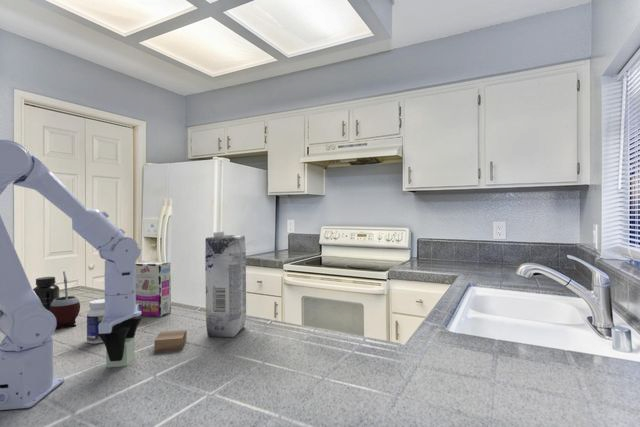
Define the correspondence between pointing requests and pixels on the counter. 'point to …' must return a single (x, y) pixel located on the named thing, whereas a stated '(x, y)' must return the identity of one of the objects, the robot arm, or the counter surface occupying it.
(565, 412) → the counter surface
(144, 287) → the candy bar box
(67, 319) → the mate gourd
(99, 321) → the pill bottle
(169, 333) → the walnut block
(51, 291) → the supplement bottle
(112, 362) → the sage block
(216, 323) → the juice carton
